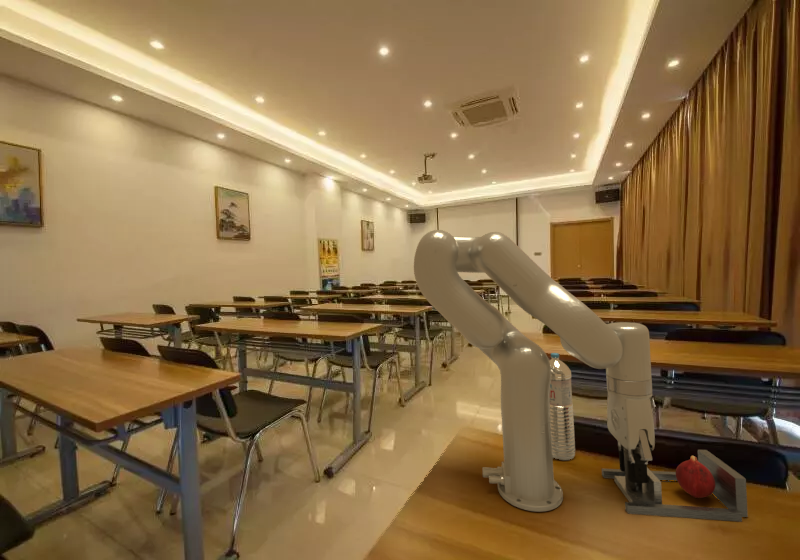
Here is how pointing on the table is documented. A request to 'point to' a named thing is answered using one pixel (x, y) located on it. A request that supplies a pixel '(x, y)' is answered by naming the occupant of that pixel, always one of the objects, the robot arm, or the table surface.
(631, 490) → the carriage
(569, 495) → the table surface
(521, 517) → the table surface
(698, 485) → the pomegranate
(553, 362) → the water bottle
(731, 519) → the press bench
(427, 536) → the table surface
